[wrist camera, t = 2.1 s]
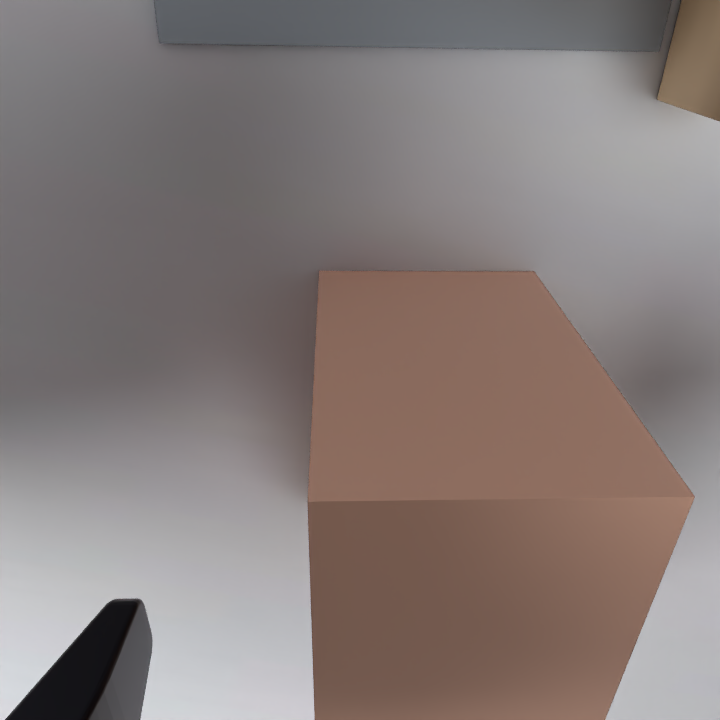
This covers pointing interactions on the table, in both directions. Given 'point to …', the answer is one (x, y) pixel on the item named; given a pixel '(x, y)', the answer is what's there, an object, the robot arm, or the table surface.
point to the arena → (471, 30)
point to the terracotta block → (474, 504)
